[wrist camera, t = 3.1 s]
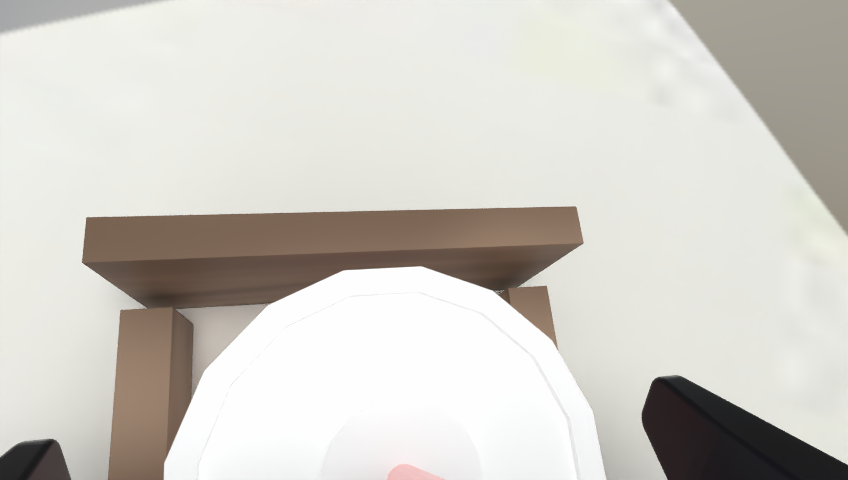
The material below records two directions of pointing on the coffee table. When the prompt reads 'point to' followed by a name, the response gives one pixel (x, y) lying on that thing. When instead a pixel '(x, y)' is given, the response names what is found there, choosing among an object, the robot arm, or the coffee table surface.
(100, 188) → the coffee table surface
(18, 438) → the coffee table surface
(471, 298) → the beverage cup
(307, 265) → the rack
